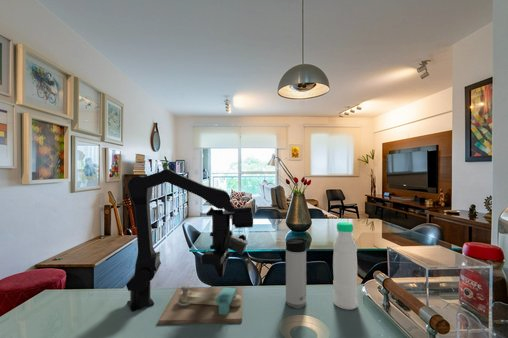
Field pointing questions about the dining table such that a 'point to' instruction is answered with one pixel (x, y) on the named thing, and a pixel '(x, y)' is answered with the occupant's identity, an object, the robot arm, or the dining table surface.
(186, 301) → the link
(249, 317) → the dining table surface
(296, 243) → the travel mug
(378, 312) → the dining table surface
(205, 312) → the base board
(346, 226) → the water bottle
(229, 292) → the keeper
